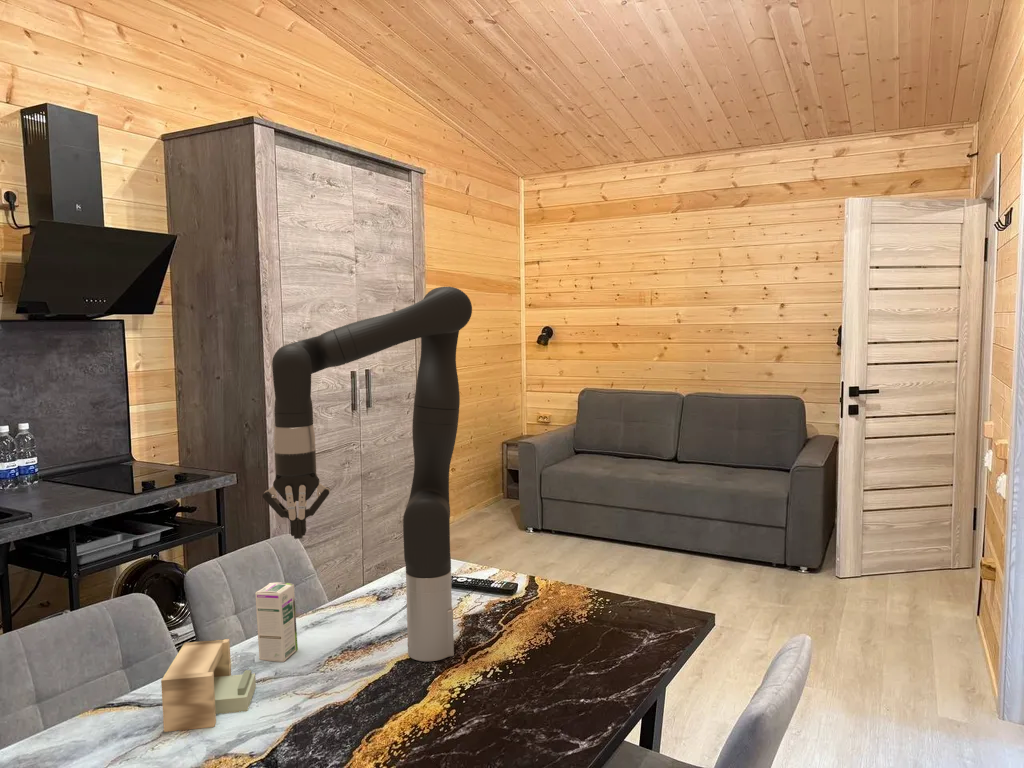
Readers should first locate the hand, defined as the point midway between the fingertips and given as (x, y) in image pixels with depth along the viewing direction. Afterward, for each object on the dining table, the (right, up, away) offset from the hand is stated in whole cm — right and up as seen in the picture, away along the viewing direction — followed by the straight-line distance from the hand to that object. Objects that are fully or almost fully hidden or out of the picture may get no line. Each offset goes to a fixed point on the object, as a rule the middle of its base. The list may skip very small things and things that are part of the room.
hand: (298, 537), depth 144 cm
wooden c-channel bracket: (-15, -28, -10) cm, 33 cm away
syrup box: (-7, -27, +10) cm, 29 cm away
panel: (-12, -28, -8) cm, 32 cm away
